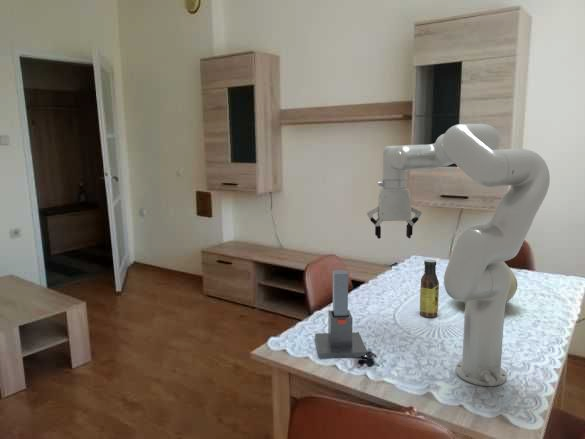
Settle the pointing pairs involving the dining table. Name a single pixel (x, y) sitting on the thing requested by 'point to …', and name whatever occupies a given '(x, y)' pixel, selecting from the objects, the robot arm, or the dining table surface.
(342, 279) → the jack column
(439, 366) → the dining table surface
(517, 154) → the robot arm
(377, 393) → the dining table surface
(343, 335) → the jack base
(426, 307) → the sauce bottle
